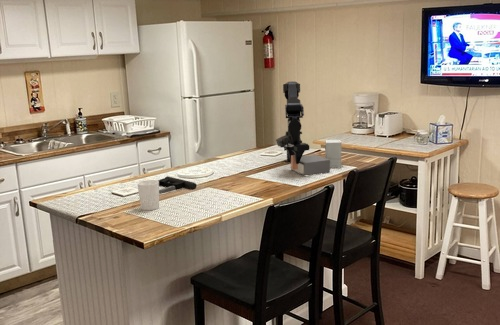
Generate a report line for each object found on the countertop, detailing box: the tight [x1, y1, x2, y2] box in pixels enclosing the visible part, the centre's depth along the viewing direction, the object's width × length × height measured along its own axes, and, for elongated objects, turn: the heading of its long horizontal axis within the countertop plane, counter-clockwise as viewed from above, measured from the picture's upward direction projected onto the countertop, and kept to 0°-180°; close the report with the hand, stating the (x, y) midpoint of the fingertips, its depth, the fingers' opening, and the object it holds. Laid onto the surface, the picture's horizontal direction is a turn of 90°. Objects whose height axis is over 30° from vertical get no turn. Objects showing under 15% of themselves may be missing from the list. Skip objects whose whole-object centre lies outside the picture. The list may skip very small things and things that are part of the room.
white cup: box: [137, 179, 160, 211], centre depth 196 cm, size 8×8×10 cm
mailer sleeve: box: [290, 154, 331, 176], centre depth 245 cm, size 14×13×6 cm
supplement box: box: [324, 139, 342, 169], centre depth 253 cm, size 7×7×13 cm
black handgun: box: [156, 175, 197, 195], centre depth 224 cm, size 3×20×16 cm
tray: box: [290, 155, 305, 175], centre depth 244 cm, size 12×15×8 cm
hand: (294, 162), depth 242 cm, fingers open, 5 cm apart
